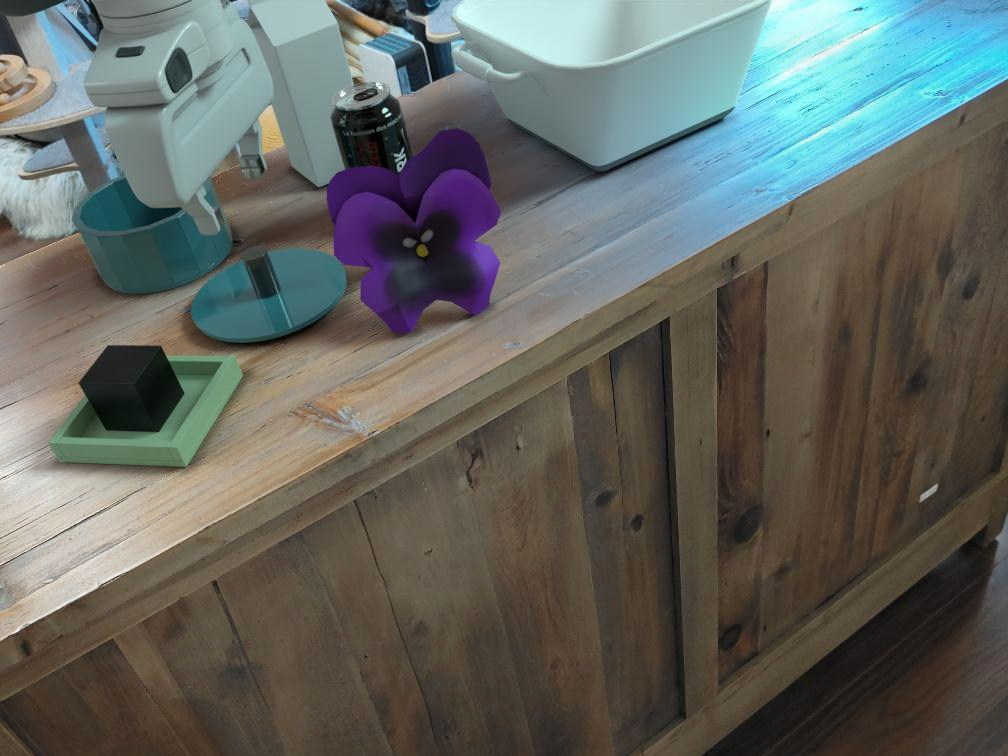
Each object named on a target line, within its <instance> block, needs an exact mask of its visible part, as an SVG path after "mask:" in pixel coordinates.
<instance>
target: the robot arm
mask: <svg viewBox="0 0 1008 756" xmlns="http://www.w3.org/2000/svg"><path fill="white" fill-rule="evenodd" d="M66 1H67V0H0V15H2V16H6V17H15V18H21V17H26V16H30V15H34V14H39V13H41V12H44V11H47V10H49V9H51V8H53V7H56V6H57V5H60V4H63V3H64V2H66ZM90 1H91V3H92V4H93V5H94V7H95V9H96V12H97V15H98V16H99V19H100V21H101V23H102V26H103V28H102V29H101V30H100V33H99V36H98V41H97V45H96V48H95V51H94V54H93V57H92V59H91V62H90V65H89V66H88V67H87V68H88V69H87V71H86V73H85V76H84V79H83V88H84V91H85V93H86V96H87V98H88V99H89V101H90V103H91V104H92V105H93V106H94V107H96V108H106V109H105V112H104V127H105V131H106V134H107V138H108V141H109V144H110V146H111V148H112V151H113V152H114V155H115V157H116V160H117V162H118V165H119V166H120V168H121V170H122V172H123V175H125V177H126V179H127V181H128V183H129V185H130V187H131V189H132V191H133V192H134V194H135V195H136V197H137V198H138V199H139V200H140V201H141V202H142V203H144V204H145V205H147V206H149V207H151V208H173V207H181V208H182V209H183V210H185V211H186V212H187V213H188V214H189V215H190V216H192V217H193V218H194V221H195V223H196V225H197V228H198V230H199V232H200V233H201V234H203V235H216V234H218V232H219V231H220V230H221V228H222V227H223V226H224V224H225V221H224V218H222V213H221V211H220V208H219V207H211V206H210V205H209V204H208V202H207V201H206V200H205V199H204V197H205V195H206V191H205V188H204V186H203V184H204V182H205V181H206V180H207V179H208V178H209V177H211V176H212V174H213V173H214V172H215V171H216V170H217V168H218V167H219V166H220V165H221V163H222V162H223V161H224V160H225V159H226V158H227V156H228V155H229V154H230V153H231V151H232V150H233V149H234V147H235V146H236V145H237V144H238V148H239V155H240V157H239V158H238V159H237V162H238V165H239V168H240V169H241V173H242V175H243V177H244V178H245V179H247V180H252V179H257V180H258V179H260V178H261V177H262V176H263V175H264V173H266V171H267V170H268V165H267V162H266V159H265V157H264V153H263V131H262V128H263V127H262V124H261V121H260V117H261V116H262V115H263V113H264V112H265V110H267V108H268V107H269V106H270V105H271V102H272V101H273V98H274V88H273V81H272V78H271V75H270V72H269V70H268V67H267V65H266V62H265V59H264V57H263V55H262V52H261V50H260V47H259V45H258V43H257V41H256V38H255V36H254V34H253V32H252V30H251V28H250V27H249V25H248V24H247V23H248V22H247V21H245V20H244V19H243V18H241V17H240V14H239V11H238V8H237V6H236V4H235V3H234V2H232V1H231V0H90Z"/></svg>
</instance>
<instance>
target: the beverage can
mask: <svg viewBox="0 0 1008 756" xmlns="http://www.w3.org/2000/svg"><path fill="white" fill-rule="evenodd" d="M332 102H333V105H334V106H335V107H334V110H333V111H332V113H331V123H332V127H333V131H334V134H335V137H336V141H337V144H338V148H339V151H340V155H341V158H342V162H343V165H344V168H345V170H346V169H349V168H353V167H364V166H376V167H382V168H387V169H388V170H390V171H391V172H393V173H395V174H396V175H398V176H399V173H400V171H401V170H402V168H403V166H404V165H405V163H406V162H407V161H409V160H410V159H411V158H413V157H414V155H413V152H412V148H411V144H410V138H409V135H408V130H407V126H406V122H405V118H404V114H403V110H402V105H401V103H400V100H399V99H398V98H397V97H395V96H394V95H392V94H391V89H390V86H389V85H388V84H386V83H384V82H379V81H365V82H360V83H354V85H352V86H349V87H346V88H344V89H342V90H341V91H339V92H338V93H336V94H335V95H334V97H333V99H332Z"/></svg>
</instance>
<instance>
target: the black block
mask: <svg viewBox="0 0 1008 756" xmlns="http://www.w3.org/2000/svg"><path fill="white" fill-rule="evenodd" d="M166 355H167V354H166V352H165V350H164V348H163V346H162V345H146V344H145V345H144V344H143V345H142V344H141V345H137V344H134V345H131V344H130V345H129V344H128V345H127V344H126V345H125V344H123V345H122V344H107V346H105V348H104V350H102V352H101V353H100V355H99V356H98V357H97V358H96V359H95V361H94V362H93V363H92V365H91V366H89V369H87V371H86V372H85V373H84V375H83V376H82V377H81V379H79V381H78V385H79V387H80V388H81V390H82V392H83V394H84V395H86V397H87V399H88V401H89V402H90V404H91V406H92V407H93V409H94V411H95V413H96V414H97V416H98V418H99V419H100V421H101V423H102V424H103V426H104V428H105V430H107V431H140V432H159V431H160V430H161V428H162V427H163V425H164V424H165V422H166V421H167V419H168V418H169V416H170V415H171V413H172V412H173V410H174V409H175V407H176V406H177V404H178V403H179V401H180V400H181V398H182V397H183V395H184V394H185V393H184V391H183V389H182V387H181V385H180V383H179V381H178V379H177V377H176V375H175V373H174V371H173V369H172V367H171V365H170V363H169V361H168V358H167V356H166Z"/></svg>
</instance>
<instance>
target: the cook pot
mask: <svg viewBox="0 0 1008 756" xmlns="http://www.w3.org/2000/svg"><path fill="white" fill-rule="evenodd" d="M203 186H204V188H205V191H206V195H205V197H204V199H205V200H206V201H207V202H208V204H209V205H210V206H211V207H219V208H220V211H221V213H222V218H224V221H225V224H224V226H223V227H222V228H221V230H220V231H219V232H218V234H216V235H203V234H201V233H200V232H199V230H198V228H197V225H196V223H195V221H194V218H193V217H192V216H190V215H189V214H188V213H187V212H186V211H185V210H183V209H182V208H181V207H173V208H151V207H149V206H147V205H145V204H144V203H142V202H141V201H140V200H139V199H138V198H137V197H136V195H135V194H134V192H133V191H132V189H131V187H130V185H129V183H128V181H127V179H126V177H125V175H124V174H123V175H120V176H117V177H115V178H113V179H110V180H108V181H106V182H105V183H103V184H101V185H100V186H98V187H96V188H94V189H93V190H91V191H90V192H88V193H87V194H86V195H85V197H83V198H82V200H80V201H79V203H78V204H76V205H75V207H74V209H73V213H72V217H71V223H72V225H73V226H74V227H75V228H74V229H75V230H76V233H77V234H78V236H79V238H80V239H81V242H82V244H83V246H84V247H85V248H84V249H86V251H87V253H88V255H89V257H90V259H91V261H92V263H93V266H94V267H95V269H96V271H97V273H98V274H99V276H100V277H101V279H102V281H103V283H104V284H105V285H106V286H107V287H109V288H110V289H111V290H113V291H116V292H119V293H123V294H130V295H147V294H155V293H160V292H165V291H169V290H172V289H175V288H179V287H182V286H185V285H187V284H189V283H191V282H194V281H196V280H198V279H200V278H202V277H203V276H205V275H206V274H208V273H210V272H211V271H213V270H214V269H216V268H217V267H218V266H219V265H220V264H222V263H223V261H224V260H225V259H226V258H227V257H228V255H229V254H230V252H231V250H232V248H233V243H234V239H233V236H232V229H231V226H230V224H229V221H228V219H227V218H228V217H227V216H226V213H225V211H224V208H223V206H222V204H221V201H220V198H219V195H218V193H217V190H216V188H215V185H214V183H213V181H212V178H211V176H209V178H208V179H207V180H206V181H205V182H204V184H203Z"/></svg>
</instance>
